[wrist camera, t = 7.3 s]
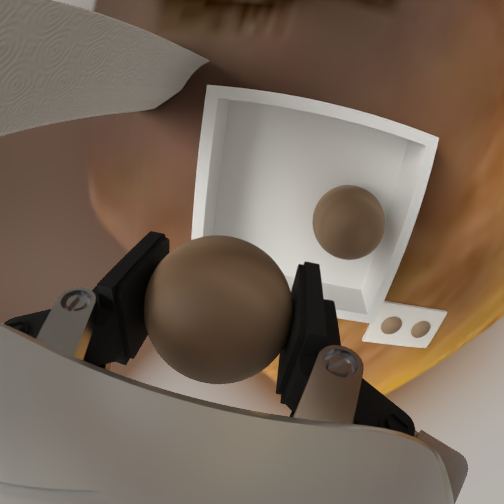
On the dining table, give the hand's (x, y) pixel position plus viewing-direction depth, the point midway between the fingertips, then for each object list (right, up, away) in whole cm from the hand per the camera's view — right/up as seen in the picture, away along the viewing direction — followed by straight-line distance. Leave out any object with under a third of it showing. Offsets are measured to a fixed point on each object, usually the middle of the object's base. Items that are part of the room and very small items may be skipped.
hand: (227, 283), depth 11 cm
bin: (+5, +5, +11) cm, 13 cm away
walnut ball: (0, -1, -1) cm, 2 cm away
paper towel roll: (-7, +15, +8) cm, 18 cm away
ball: (+7, +3, +8) cm, 11 cm away
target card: (+16, -6, +15) cm, 23 cm away
